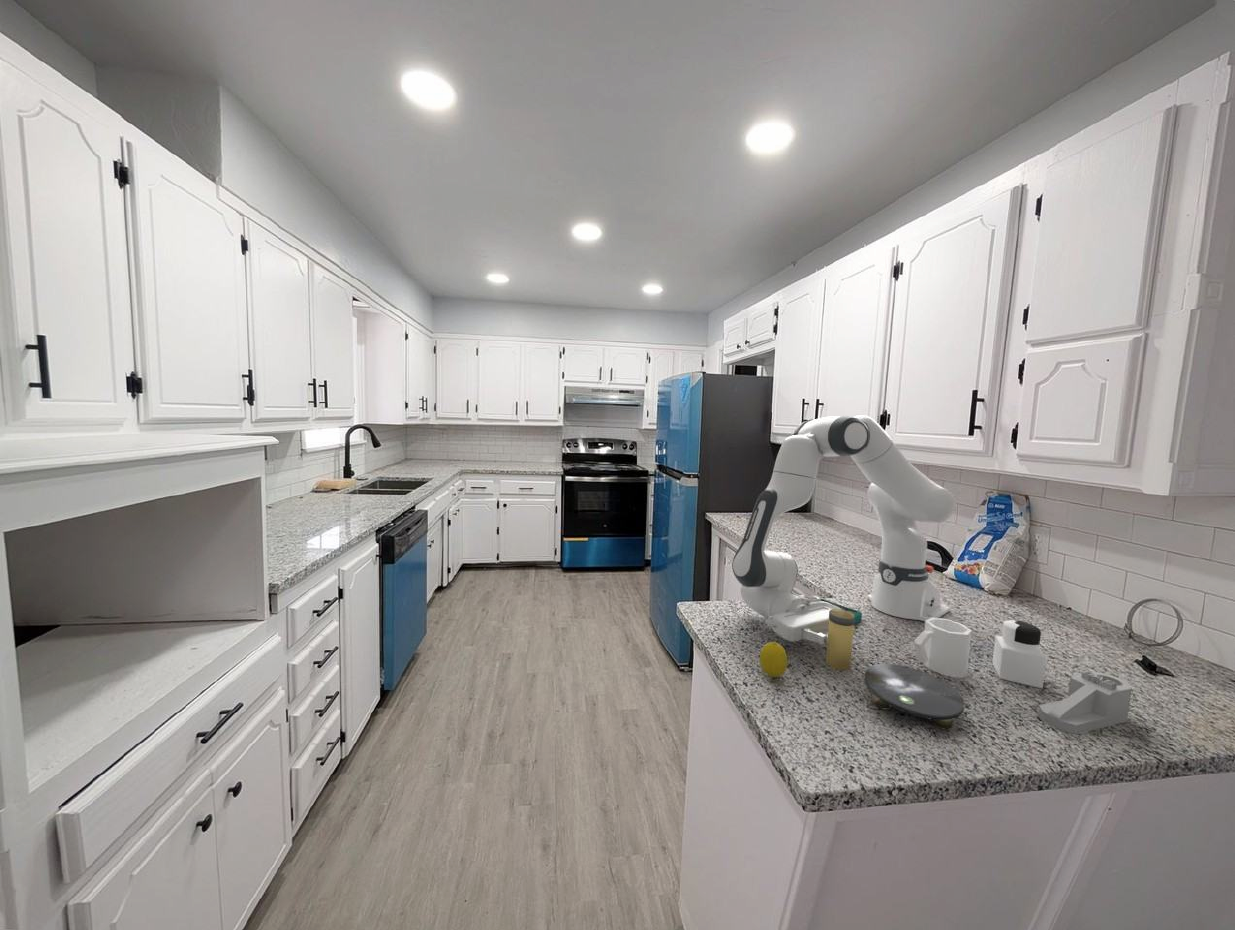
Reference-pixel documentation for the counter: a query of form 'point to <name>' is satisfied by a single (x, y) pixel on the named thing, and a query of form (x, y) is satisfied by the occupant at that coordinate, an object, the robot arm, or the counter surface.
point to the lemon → (773, 659)
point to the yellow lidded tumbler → (840, 639)
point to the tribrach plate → (914, 693)
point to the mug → (944, 647)
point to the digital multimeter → (857, 614)
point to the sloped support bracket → (1089, 704)
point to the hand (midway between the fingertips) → (839, 636)
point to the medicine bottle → (1019, 654)
